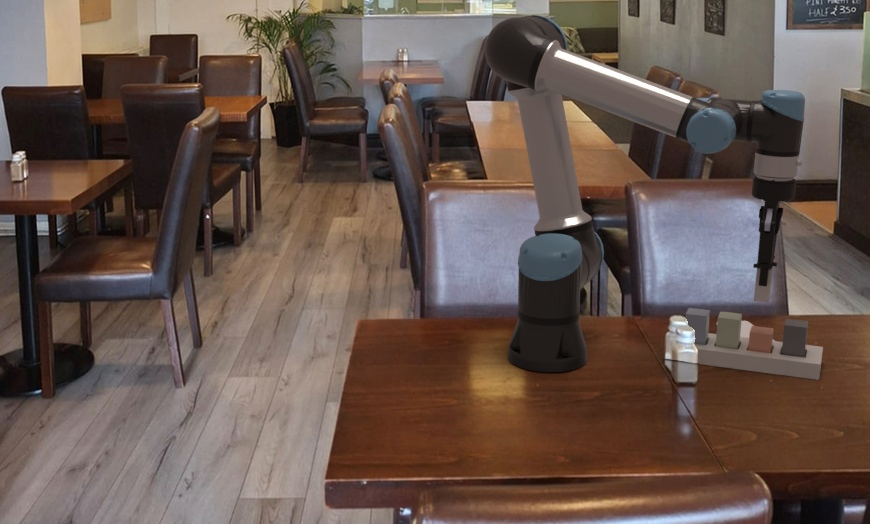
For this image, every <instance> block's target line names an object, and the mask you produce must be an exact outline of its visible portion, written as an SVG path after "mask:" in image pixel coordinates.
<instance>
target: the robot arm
mask: <svg viewBox="0 0 870 524" xmlns="http://www.w3.org/2000/svg"><path fill="white" fill-rule="evenodd" d="M484 55H485V60H486V62H487V64H488V66H489V69H490V70H491V71H492V72H493V73H494V74H495V75H496V76H498V77H499V78H500V79H502V80H504V81H505V82H506V88H507V92H508V94H509V95H512V96H513V98H515V99H516V100H517V104H518V110H519V114H520V121H521V125H522V130H523V136H524V141H525V147H526V152H527V157H528V163H529V169H530V173H531V179H532V183H533V189H534V194H535V198H536V199H535V200H536V204H537V210H538V211H537V212H538V215H539V219H538V220H537V221H536V222H537V223H536V224H535V225H534V227H533V229H534V230H533V231H534V235H533V236H531V237H529V238H527V239H525V240H524V241H523V242H522V243H521V245H520V247H519V254H518V257H517V259H518V260H517V266H518V282H517V283H518V284H517V286H518V287H517V288H518V289H517V294H518V295H517V296H518V298H517V320H516V321H517V322H516V323H515V327H514V329H513V332H512V336H511V338H510V340H509V343H508V347H507V359H508V361H509V362H510V363H511V364H512V365H514V366H516V367H518V368H521V369H524V370H527V371H534V372H539V373H540V372H541V373H561V372H569V371H575V370H577V369H580V368H581V367H583V366H585V364H587V361H588V347H587V344H586V340H585V338H584V334H583V330H582V327H581V324H580V306H581V305H580V304H581V303H580V301H581V290H582V289H583V288H584V287H585V286H586V285H587V284H588V283H589V282H590V281H592V280H593V279H594V278H595V277H596V275H597V274H598V272H600V270H601V267H602V265H603V263H604V262H603V261H604V258H605V256H604V255H605V249H604V244H603V242H602V239H601V237H600V236H599V234H598V233H597V232H595V229H594V224H593V218H592V215H590V214H588V213H587V212H585V211H584V210H583V205H582V200H581V194H580V188H579V184H578V178H577V177H578V176H577V173H576V168H575V162H574V156H573V150H572V146H571V140H570V133H569V128H568V123H567V122H568V121H567V118H566V117H567V116H566V112H565V111H566V110H565V106H564V100H563V96H565V97H567V98H571V99H573V100H574V101H575V100H576V101H578V102H581V103H583V104H586V105H589V106H592V107H594V108H596V109H600V110H602V111H604V112H607V113H610V114H613V115H615V116H618V117H621V118H623V119H626V120H629V121H631V122H634V123H636V124H639V125H641V126H644V127H647V128H649V129H652V130H654V131H657V132H659V133H663V134H665V135H667V136H671V137H674V138H676V139H678V140H681V141H682V142H685V143H688V144H690V146H691V147H692V148H693V149H694V150H695V151H697V152H699V153H701V154H707V155H709V154H711V155H712V154H716V153H718V152H721V151H723V150H725V149H727V148H728V147H729V146H730V145H731V144H732V142H743V143H756V148H755V154H754V166H753V173H754V174H755V176H754V177H753V178H752V187H751V196H752V197H753V198H755V199H757V200H763V201H764V204H763V205H761V206H760V208H759V212H758V218H759V224H758V225H759V226H758V232H759V238H758V239H759V241H758V250H757V251H758V253H757V262H756V263H753V269H756V276H755V285H754V294H753V302H759V303H768V304H769V303H770V299H771V289H772V280H773V273H774V272H773V270H774V267H778V262H775V261H774V260H775V259H776V256H775V254H776V253H775V252H776V245H777V236H778V233H779V231H780V228H781V221H782V217H783V214H784V207H780V203H781V202H783V203H784V202H790V201H793V200H794V199H795V197H796V189H797V181H796V179H795V178H796V177H797V176H798V169H799V167H800V166H802V165H803V161H802V160H798V159H800V152H801V145H802V137H803V129H804V122H805V121H804V120H805V108H806V106H805V105H806V104H805V103H806V98H805V95H803V93H801V92H799V91H796V90H795V91H794V90H789V89H788V90H787V89H768V90H767V89H766V90H763V92H762V94H761V97H760V99H759V100H758V99H757V100H746V99H745V100H744V99H734V98H733V99H732V98H731V99H730V98H721V97H720V98H719V97H715V96H714V97H713V96H712V97H698V98H695V97H693V96H691V95H688V94H685V93H684V92H683V93H682V92H680V91H678V90H675V89H672V88H669V87H667V86H664V85H662V84H659V83H655V82H653V81H651V80H648V79H646V78H642V77H640V76H638V75H637V76H636V75H634V74H632V73H629V72H626V71H623V70H621V69H618V68H616V67H613V66H610V65H608V64H604V63H601V62H600V61H597V60H594V59H591V58H588V57H586V56H583V55H582V54H581V55H580V54H578V53H575V52H574V51H573V52H572V51H571V50H570V51H569V50H568V42H567V38H566V34H565V33H564V31H563V29H562V28H561V26H559V24H557V22H555V21H553V20H552V19H551V18H548V17H546V16H541V15H538V14H532V15H525V16H520V17H511V18H505V19H503V20H502V21H500V22H499V23H497V24H495V26H494V27H493V28H492V29H491V30H490V32H489V33H488V35H487V37H486V41H485V45H484Z"/></svg>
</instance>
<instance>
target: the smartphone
mask: <svg viewBox="0 0 870 524" xmlns="http://www.w3.org/2000/svg"><path fill="white" fill-rule="evenodd" d="M715 325H717V322H716V323H715ZM752 326H755V325H754V324H752V323H751V322H750V321H747V320H741V333H740V337H745V338H749V335H750V330H751V327H752ZM773 341H776V340H775V339H773Z"/></svg>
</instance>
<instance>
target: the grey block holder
mask: <svg viewBox="0 0 870 524" xmlns="http://www.w3.org/2000/svg"><path fill="white" fill-rule="evenodd" d="M716 335H717V333H710V332H708V340H707V343H706V345H700V344H695V345H696V347H697V349H698V363H699V364H698V365H703V366H710V367H718V368H726V369H733V370H739V371H749V372H757V373H764V374H772V375H778V376H787V377H794V378H801V379H810V380H817V381H820V376H821V375H820V374H821V368H822V360H823V354H824V353H823V351H824V347H823V346H817V345H811V344H810V345H809V344H806V350H805V356H804V357H797V356H789V355H782V344H783V341H779V340H778V341H776V340H775V341H773V343H772V353H765V352H757V351H748V347H749V338H745V337H740V344H739V347H738V349H732V348H724V347H716ZM664 349H665V350H664V352H665V351H666V344H665V345H664Z"/></svg>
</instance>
